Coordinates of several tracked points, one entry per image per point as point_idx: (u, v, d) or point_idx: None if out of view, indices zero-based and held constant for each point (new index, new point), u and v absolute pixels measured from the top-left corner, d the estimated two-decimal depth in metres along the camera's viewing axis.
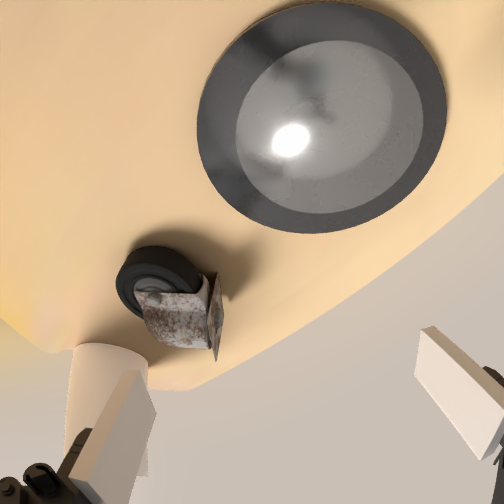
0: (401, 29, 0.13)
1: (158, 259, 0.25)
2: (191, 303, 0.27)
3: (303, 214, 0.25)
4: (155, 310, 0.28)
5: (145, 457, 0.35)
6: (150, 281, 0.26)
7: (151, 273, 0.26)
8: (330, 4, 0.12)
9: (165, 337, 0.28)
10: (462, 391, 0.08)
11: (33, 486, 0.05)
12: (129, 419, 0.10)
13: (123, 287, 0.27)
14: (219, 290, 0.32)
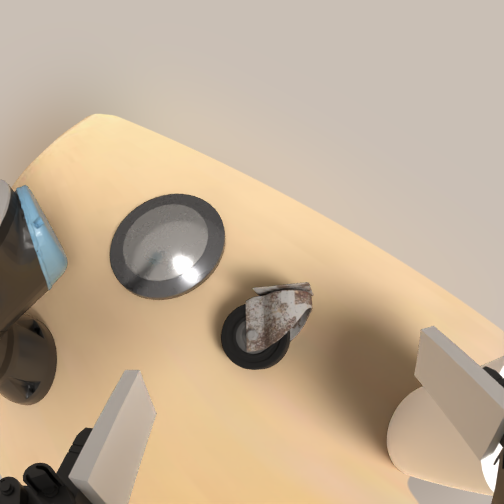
0: (121, 224, 0.48)
1: None
2: (254, 306, 0.37)
3: (208, 248, 0.45)
4: (264, 336, 0.35)
5: None
6: (238, 335, 0.36)
7: (230, 333, 0.36)
8: (110, 249, 0.46)
9: (282, 326, 0.33)
10: (462, 391, 0.08)
11: (33, 486, 0.05)
12: (129, 419, 0.10)
13: (245, 361, 0.35)
14: None
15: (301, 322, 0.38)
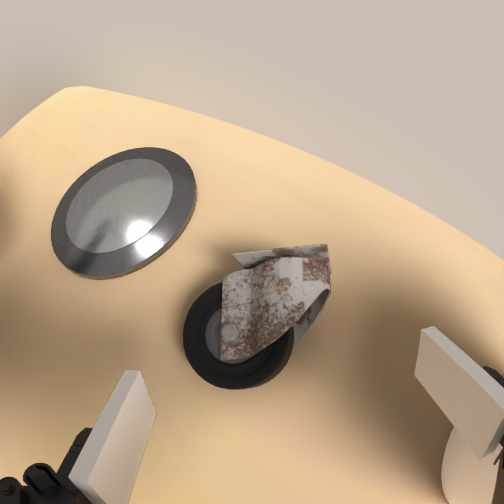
0: (69, 189, 0.35)
1: None
2: (237, 285, 0.23)
3: (172, 206, 0.31)
4: (250, 335, 0.21)
5: None
6: (209, 333, 0.22)
7: (197, 329, 0.22)
8: (53, 219, 0.32)
9: (280, 319, 0.19)
10: (462, 391, 0.09)
11: (33, 486, 0.05)
12: (129, 419, 0.10)
13: (219, 375, 0.21)
14: None
15: (313, 315, 0.24)
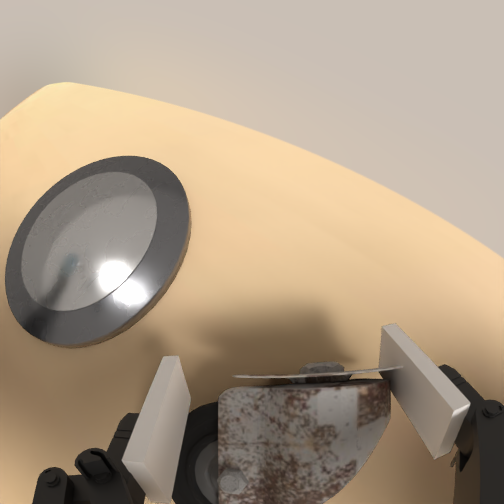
0: (29, 212, 0.25)
1: None
2: (241, 412, 0.12)
3: (155, 245, 0.21)
4: (264, 488, 0.10)
5: None
6: (199, 472, 0.12)
7: (183, 463, 0.12)
8: (9, 253, 0.22)
9: (316, 485, 0.09)
10: (416, 388, 0.10)
11: (84, 471, 0.06)
12: (172, 402, 0.11)
13: None
14: None
15: None
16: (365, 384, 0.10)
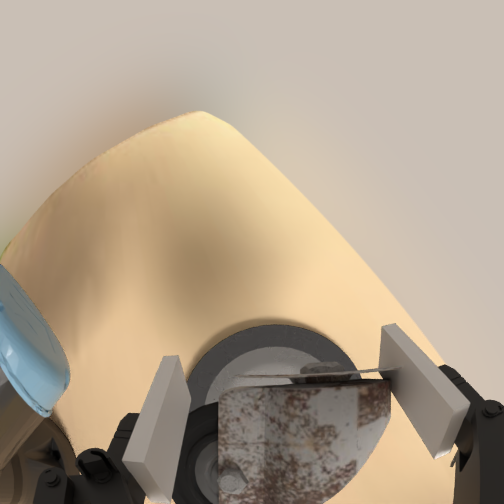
0: (209, 353, 0.31)
1: None
2: (242, 412, 0.12)
3: None
4: (264, 488, 0.10)
5: None
6: (200, 472, 0.12)
7: (183, 463, 0.12)
8: None
9: (316, 485, 0.09)
10: (416, 388, 0.10)
11: (84, 471, 0.06)
12: (172, 402, 0.11)
13: None
14: None
15: None
16: (365, 384, 0.10)
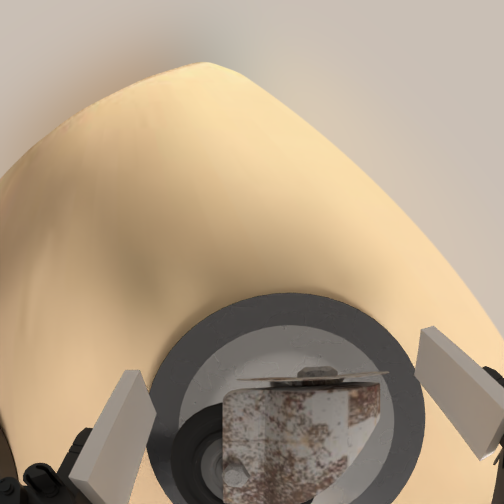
0: (192, 332, 0.21)
1: None
2: (244, 412, 0.14)
3: (378, 479, 0.14)
4: (264, 482, 0.12)
5: None
6: (205, 467, 0.13)
7: (190, 460, 0.13)
8: (152, 388, 0.18)
9: (311, 478, 0.10)
10: (462, 391, 0.09)
11: (33, 486, 0.05)
12: (129, 419, 0.10)
13: None
14: None
15: None
16: (355, 387, 0.12)
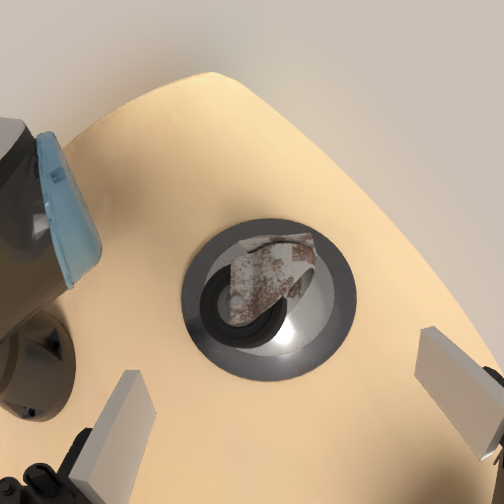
0: (212, 241, 0.36)
1: None
2: (242, 265, 0.29)
3: (327, 328, 0.30)
4: (252, 304, 0.27)
5: None
6: (220, 303, 0.29)
7: (211, 301, 0.29)
8: (187, 274, 0.34)
9: (275, 289, 0.26)
10: (462, 391, 0.08)
11: (33, 486, 0.05)
12: (129, 419, 0.10)
13: (228, 336, 0.27)
14: None
15: (302, 290, 0.31)
16: (296, 243, 0.27)
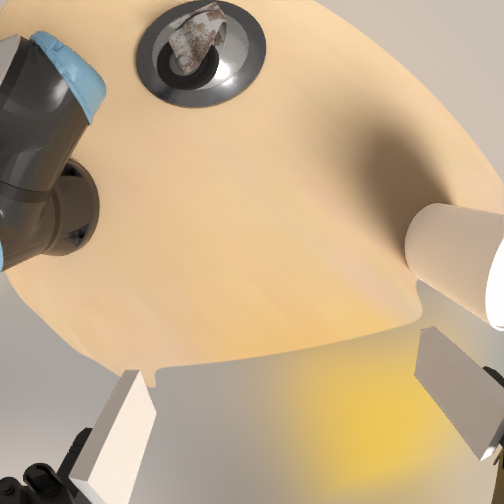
0: (144, 37, 0.35)
1: None
2: (176, 38, 0.31)
3: (250, 54, 0.36)
4: (194, 56, 0.32)
5: None
6: (172, 66, 0.34)
7: (165, 68, 0.34)
8: (137, 65, 0.36)
9: (206, 41, 0.30)
10: (462, 391, 0.09)
11: (33, 486, 0.05)
12: (129, 419, 0.10)
13: (187, 82, 0.34)
14: None
15: (223, 38, 0.34)
16: (208, 11, 0.29)
